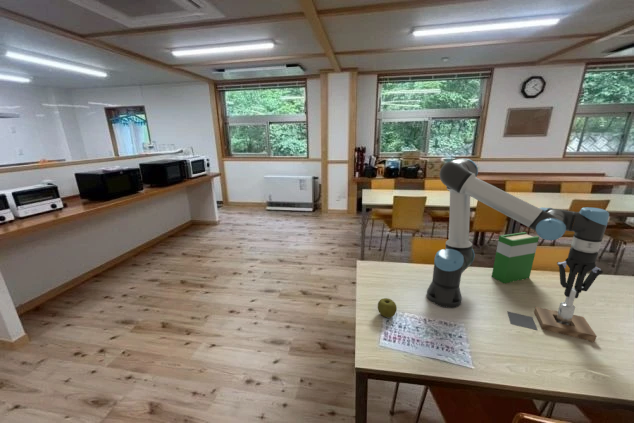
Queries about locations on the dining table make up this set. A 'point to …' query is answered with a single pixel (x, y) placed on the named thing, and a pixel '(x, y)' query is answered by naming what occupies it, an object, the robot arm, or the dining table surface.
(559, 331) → the jig
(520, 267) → the hardback book
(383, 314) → the apple
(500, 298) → the dining table surface
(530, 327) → the pad
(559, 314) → the brushed steel cylinder
